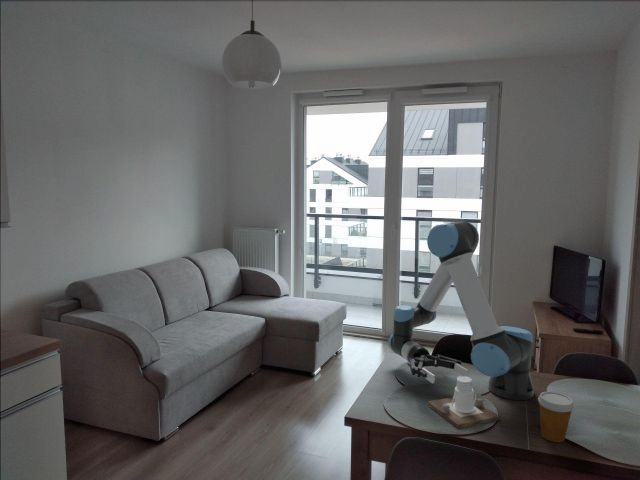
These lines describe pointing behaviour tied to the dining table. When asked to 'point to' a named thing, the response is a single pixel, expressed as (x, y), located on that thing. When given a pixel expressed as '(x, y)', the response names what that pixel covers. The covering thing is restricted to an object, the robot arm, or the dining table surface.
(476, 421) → the pin stand
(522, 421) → the dining table surface
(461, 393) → the downlight
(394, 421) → the dining table surface
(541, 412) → the disposable coffee cup
